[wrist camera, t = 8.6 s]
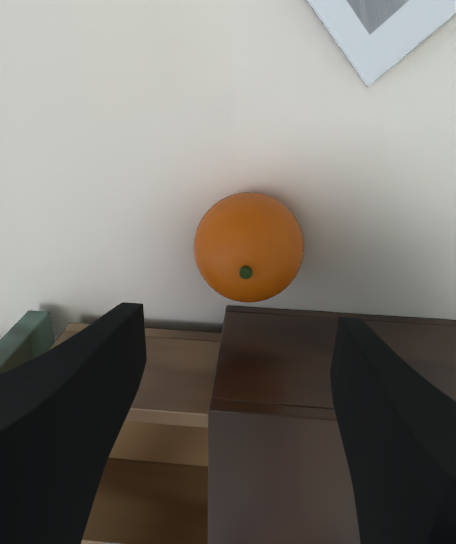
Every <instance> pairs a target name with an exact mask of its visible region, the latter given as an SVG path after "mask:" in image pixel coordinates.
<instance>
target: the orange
mask: <svg viewBox="0 0 456 544" xmlns="http://www.w3.org/2000/svg"><path fill="white" fill-rule="evenodd" d="M303 252H304V242H303V235H302V232H301V229H300V226H299V224H298V222H297V220H296V218H295V217H294V215H293V214H292V213H291V212H290V210H289V209H288V208H287V207H286V206H284V205H283V204H282V203H281V202H279V201H278V200H276V199H274V198H272V197H270V196H267V195H264V194H260V193H250V192H247V193H239V194H234V195H231V196H228V197H226V198H224V199H222V200H221V201H219V202H218V203H216V204H215V205H214V206H212V207H211V208H210V209H209V210H208V212H207V213H206V214H205V215H204V217H203V218H202V220H201V222H200V224H199V226H198V228H197V232H196V235H195V241H194V254H195V260H196V264H197V267H198V269H199V271H200V273H201V275H202V277H203V278H204V280H205V281H206V282H207V283H208V285H209V286H210V287H211V288H213V289H214V290H215V291H216V292H218V293H219V294H221V295H223V296H224V297H226V298H229V299H232V300H235V301H240V302H258V301H262V300H266V299H269V298H271V297H273V296H275V295H277V294H279V293H280V292H281V291H283V290H284V289H285V288H286V287H287V286H288V285H289V284H290V283H291V282H292V280H293V279H294V278H295V276H296V275H297V273H298V271H299V268H300V266H301V263H302V259H303Z"/></svg>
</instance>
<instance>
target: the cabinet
mask: <svg viewBox="0 0 456 544" xmlns="http://www.w3.org/2000/svg"><path fill="white" fill-rule="evenodd" d="M339 317H354V318H361V319H362V320H363V321H364V322H365V323H366V324H367V325H368V326H369V327H370V328H371V329H372V330H373V331H374V332H375V333H376V334H377V335H378V336H379V337H380V338H381V339H382V340H383V341H384V342H385V343H386V344H387V345H388V346H389V347H390V348H391V349H392V350H393V351H394V352H395V353H397V354H398V355H399V356H400V357H401V358H402V359H403V360H404V361H405V362H406V363H407V364H409V365H410V366H411V367H412V368H413V369H414V370H415V371H417V372H418V373H419V374H420V375H421V376H423V377H424V378H425V379H426V380H427V381H429V382H430V383H431V384H433V385H434V386H435V387H436V388H438V389H439V390H441V391H442V392H443V393H445V394H446V395H448V396H449V397H450V398H452V399H453V400H455V401H456V320H442V319H427V318H411V317H395V316H380V315H364V314H349V313H333V312H317V311H302V310H286V309H271V308H255V307H239V306H227V307H226V312H225V317H224V323H223V329H222V334H221V340H220V346H219V351H218V357H217V363H216V368H215V374H214V380H213V385H212V391H211V396H210V402H209V408H208V544H361V543H360V535H359V527H358V520H357V513H356V505H355V498H354V491H353V486H352V481H351V476H350V471H349V467H348V463H347V459H346V455H345V451H344V447H343V443H342V439H341V435H340V431H339V427H338V422H337V418H336V414H335V410H334V405H333V398H332V390H331V379H330V370H331V363H332V357H333V351H334V345H335V338H336V332H337V326H338V319H339Z"/></svg>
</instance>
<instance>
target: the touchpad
mask: <svg viewBox="0 0 456 544" xmlns="http://www.w3.org/2000/svg"><path fill="white" fill-rule="evenodd" d="M307 1H308V3H309V4H310V5H311V7H312V8H313V10H314V11H315V13H316V14H317V15H318V17H319V18H320V20H321V21H322V23H323V24H324V25H325V27H326V28H327V30H328V31H329V32H330V34H331V35H332V37H333V38H334V40H335V41H336V42H337V44H338V45H339V47H340V48H341V50H342V51H343V52H344V54H345V55H346V57H347V58H348V60H349V61H350V62H351V64H352V65H353V67H354V68H355V69H356V71H357V72H358V74H359V75H360V77H361V78H362V79H363V81H364V82H365V84H366V85H367V87H368V86H370V85H371V84H372V83H373V82H374V81H376V80H377V79H378V78H379V77H380V76H381V75H383V74H384V73H385V72H386V71H387V70H389V69H390V68H391V67H392V66H393V65H395V64H396V63H397V62H398V61H399V60H401V59H402V58H403V57H404V56H405V55H407V54H408V53H409V52H410V51H411V50H412V49H414V48H415V47H416V46H417V45H418V44H420V43H421V42H422V41H423V40H424V39H426V38H427V37H428V36H429V35H430V34H432V33H433V32H434V31H435V30H436V29H438V28H439V27H440V26H441V25H442V24H443V23H445V22H446V21H447V20H448V19H449V18H451V17H452V16H453V15H454V14H455V13H456V0H307Z"/></svg>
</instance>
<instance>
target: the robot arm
mask: <svg viewBox="0 0 456 544" xmlns="http://www.w3.org/2000/svg"><path fill="white" fill-rule="evenodd" d="M146 361H147V354H146V340H145V327H144V313H143V304H137V303H121V304H120V305H118V306H116V307H115V308H113V309H112V310H110V311H109V312H107V313H106V314H105V315H103V316H102V317H100V318H99V319H97V320H96V321H94V322H93V323H91V324H90V325H88V326H87V327H86V328H84V329H83V330H81V331H80V332H78V333H77V334H75V335H73V336H72V337H70V338H68V339H67V340H65V341H63V342H62V343H60V344H59V345H57V346H55V347H54V348H52V349H50V350H49V351H47V352H45V353H43V354H41V355H39V356H38V357H36V358H34V359H32V360H30V361H28V362H26V363H24V364H22V365H20V366H18V367H15V368H13V369H11V370H9V371H6V372H4V373H1V374H0V544H81V542H82V538H83V535H84V531H85V528H86V525H87V522H88V518H89V515H90V512H91V508H92V505H93V502H94V499H95V496H96V493H97V489H98V486H99V483H100V480H101V477H102V474H103V471H104V468H105V465H106V463H107V460H108V458H109V455H110V453H111V450H112V448H113V446H114V444H115V441H116V439H117V437H118V435H119V432H120V430H121V428H122V426H123V423H124V421H125V419H126V417H127V414H128V412H129V410H130V408H131V405H132V403H133V401H134V399H135V396H136V394H137V392H138V389H139V386H140V383H141V379H142V376H143V372H144V369H145V365H146ZM330 379H331V390H332V398H333V405H334V410H335V414H336V418H337V422H338V427H339V431H340V435H341V439H342V443H343V447H344V451H345V455H346V459H347V463H348V467H349V471H350V476H351V481H352V486H353V491H354V498H355V505H356V513H357V520H358V527H359V535H360V543H361V544H456V401H455V400H453V399H452V398H450V397H449V396H448V395H446V394H445V393H443V392H442V391H441V390H439V389H438V388H436V387H435V386H434V385H433V384H431V383H430V382H429V381H427V380H426V379H425V378H424V377H423V376H421V375H420V374H419V373H418V372H417V371H415V370H414V369H413V368H412V367H411V366H410V365H409V364H407V363H406V362H405V361H404V360H403V359H402V358H401V357H400V356H399V355H398V354H397V353H395V352H394V351H393V350H392V349H391V348H390V347H389V346H388V345H387V344H386V343H385V342H384V341H383V340H382V339H381V338H380V337H379V336H378V335H377V334H376V333H375V332H374V331H373V330H372V329H371V328H370V327H369V326H368V325H367V324H366V323H365V322H364V321H363V320H362V319H361V318H354V317H339V319H338V326H337V332H336V338H335V345H334V351H333V357H332V363H331V370H330ZM105 544H119V543H105Z"/></svg>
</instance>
